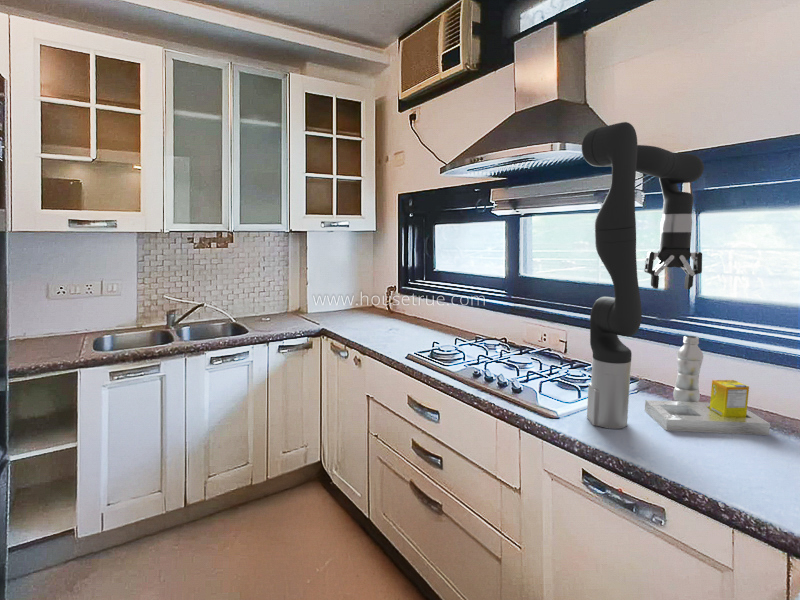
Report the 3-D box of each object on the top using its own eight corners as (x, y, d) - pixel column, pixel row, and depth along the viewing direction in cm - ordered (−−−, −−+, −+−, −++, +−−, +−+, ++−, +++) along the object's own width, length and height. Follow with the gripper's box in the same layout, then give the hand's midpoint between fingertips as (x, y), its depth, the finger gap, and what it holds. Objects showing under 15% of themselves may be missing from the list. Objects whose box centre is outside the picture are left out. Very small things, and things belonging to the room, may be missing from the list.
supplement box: (729, 418, 128) (733, 379, 126) (746, 427, 122) (750, 386, 120) (707, 418, 128) (711, 379, 126) (723, 427, 122) (727, 386, 120)
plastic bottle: (668, 399, 143) (673, 334, 140) (692, 400, 142) (698, 334, 139) (678, 407, 136) (683, 339, 134) (703, 408, 135) (709, 339, 133)
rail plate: (666, 430, 120) (667, 419, 120) (644, 410, 134) (645, 400, 133) (768, 435, 117) (770, 423, 117) (736, 413, 131) (737, 403, 131)
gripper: (654, 230, 129) (649, 290, 131) (710, 230, 127) (704, 290, 129) (643, 231, 136) (639, 287, 139) (696, 231, 135) (691, 287, 137)
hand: (671, 288), depth 134 cm, fingers open, 8 cm apart
